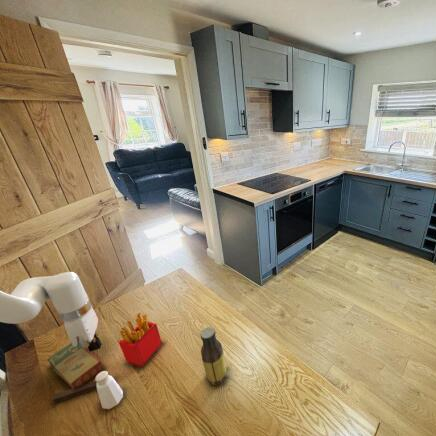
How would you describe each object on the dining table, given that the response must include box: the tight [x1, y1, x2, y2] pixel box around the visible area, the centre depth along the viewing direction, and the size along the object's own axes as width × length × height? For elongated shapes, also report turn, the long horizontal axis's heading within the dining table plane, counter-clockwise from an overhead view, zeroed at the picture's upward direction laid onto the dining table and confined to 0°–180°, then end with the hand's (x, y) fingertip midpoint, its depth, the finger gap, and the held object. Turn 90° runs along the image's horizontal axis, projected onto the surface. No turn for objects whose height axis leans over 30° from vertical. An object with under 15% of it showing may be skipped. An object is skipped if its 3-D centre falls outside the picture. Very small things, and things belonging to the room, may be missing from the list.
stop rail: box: [52, 375, 114, 404], centre depth 71 cm, size 14×2×2 cm, turn 114°
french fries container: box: [118, 312, 163, 368], centre depth 80 cm, size 7×9×14 cm
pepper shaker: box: [94, 370, 124, 410], centre depth 67 cm, size 5×5×11 cm
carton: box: [47, 341, 105, 389], centre depth 77 cm, size 8×16×4 cm, turn 61°
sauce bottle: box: [199, 326, 228, 386], centre depth 72 cm, size 6×6×20 cm
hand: (95, 348), depth 82 cm, fingers closed
